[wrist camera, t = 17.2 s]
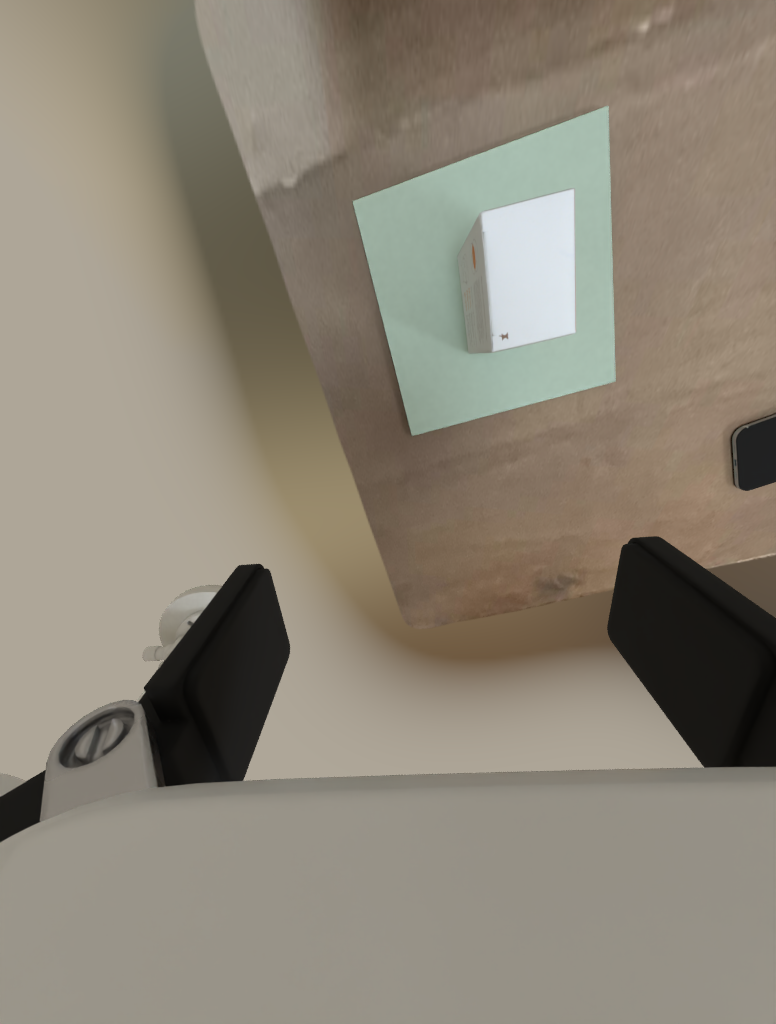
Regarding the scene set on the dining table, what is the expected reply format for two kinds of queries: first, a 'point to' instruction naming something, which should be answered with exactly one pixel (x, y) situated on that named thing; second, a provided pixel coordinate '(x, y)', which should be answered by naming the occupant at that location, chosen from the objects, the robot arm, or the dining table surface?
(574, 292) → the small box
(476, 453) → the dining table surface
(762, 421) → the smartphone
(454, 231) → the mat
